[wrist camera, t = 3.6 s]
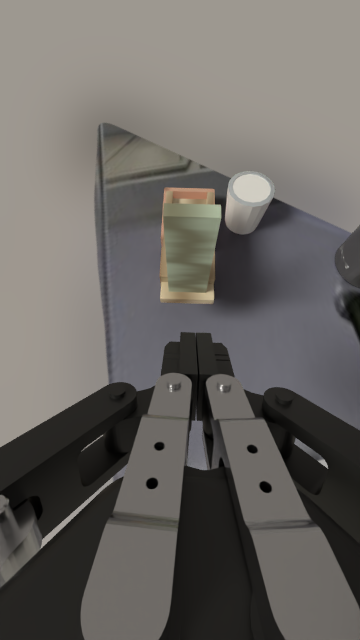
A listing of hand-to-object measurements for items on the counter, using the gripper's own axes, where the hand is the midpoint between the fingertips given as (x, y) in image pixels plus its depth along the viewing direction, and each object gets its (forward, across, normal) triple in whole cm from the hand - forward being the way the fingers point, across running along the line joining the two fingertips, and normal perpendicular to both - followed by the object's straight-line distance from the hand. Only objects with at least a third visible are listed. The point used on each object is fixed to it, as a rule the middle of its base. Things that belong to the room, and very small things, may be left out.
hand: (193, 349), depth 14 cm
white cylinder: (+38, -9, -3) cm, 39 cm away
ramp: (+22, 0, -1) cm, 22 cm away
